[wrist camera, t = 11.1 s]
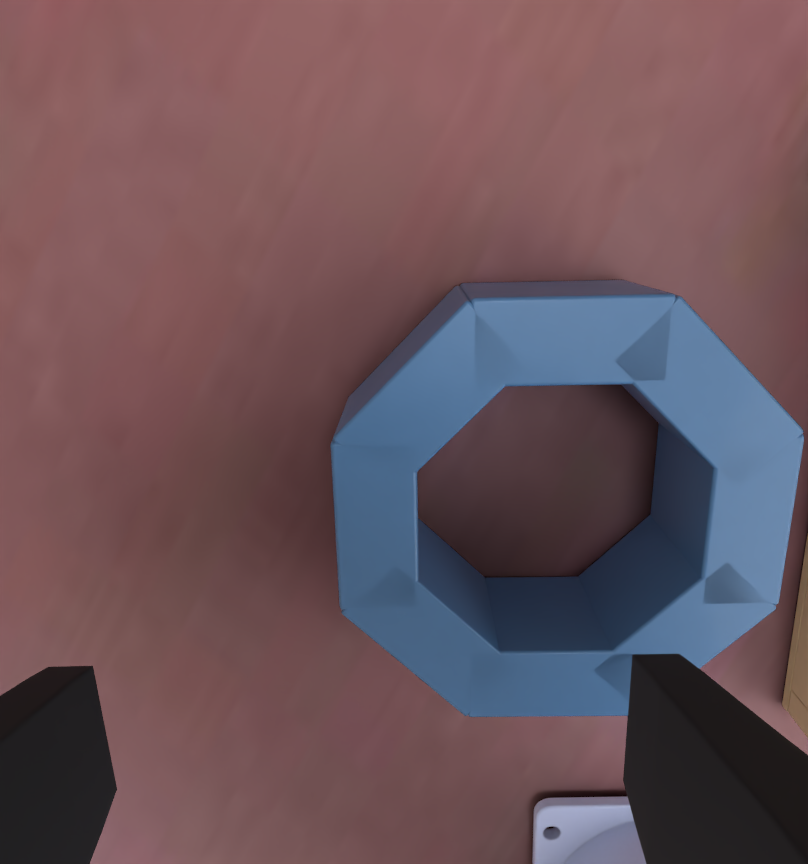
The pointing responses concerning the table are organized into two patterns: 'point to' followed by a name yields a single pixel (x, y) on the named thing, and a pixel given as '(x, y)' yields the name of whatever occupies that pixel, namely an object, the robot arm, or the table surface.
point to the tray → (799, 658)
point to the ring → (621, 565)
